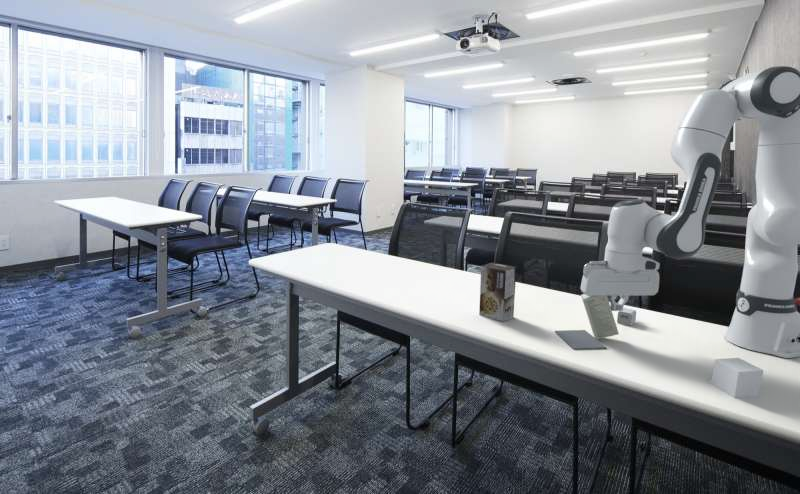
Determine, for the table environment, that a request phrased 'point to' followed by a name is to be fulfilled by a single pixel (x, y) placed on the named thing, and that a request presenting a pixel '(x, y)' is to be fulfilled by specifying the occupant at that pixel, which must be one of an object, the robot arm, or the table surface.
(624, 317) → the usb wall charger
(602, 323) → the skincare box
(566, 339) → the rubber mat
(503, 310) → the coffee box
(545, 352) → the table surface
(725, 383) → the light grey cube
